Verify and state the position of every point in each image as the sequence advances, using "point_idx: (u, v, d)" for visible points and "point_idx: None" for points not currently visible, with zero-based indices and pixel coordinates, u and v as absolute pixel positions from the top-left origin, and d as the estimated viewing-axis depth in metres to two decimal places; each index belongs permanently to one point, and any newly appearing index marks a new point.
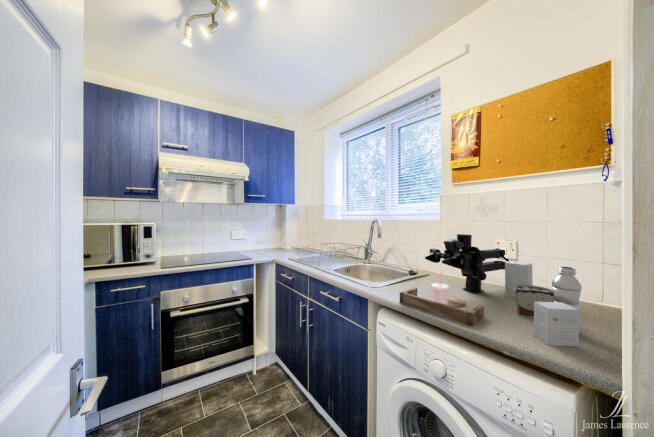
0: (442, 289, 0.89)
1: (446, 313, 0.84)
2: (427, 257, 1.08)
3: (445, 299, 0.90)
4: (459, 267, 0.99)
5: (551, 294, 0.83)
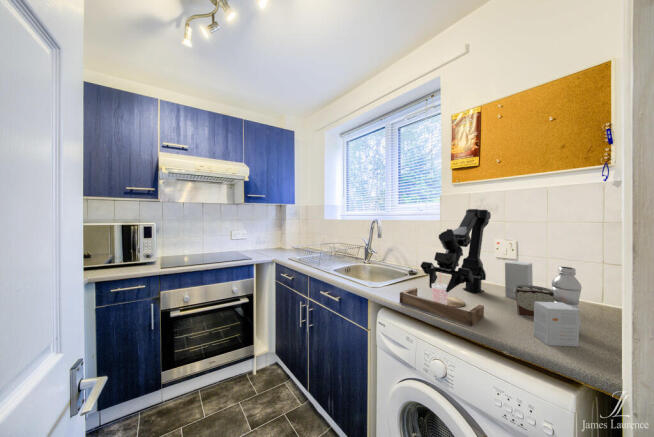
0: (442, 289, 0.89)
1: (446, 313, 0.84)
2: (431, 285, 0.94)
3: (445, 299, 0.90)
4: (462, 282, 0.91)
5: (551, 294, 0.83)
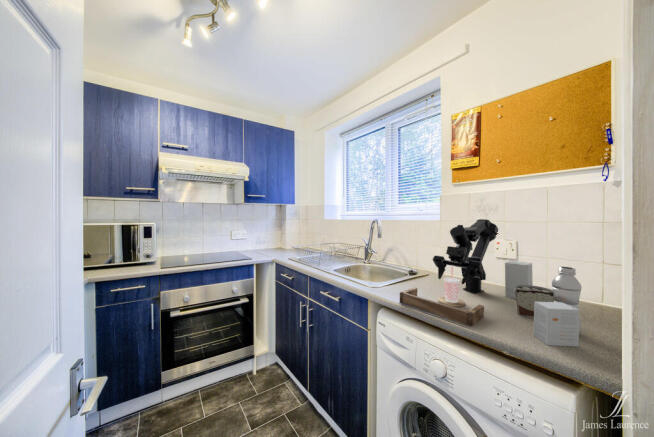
0: (454, 283, 0.96)
1: (446, 313, 0.84)
2: (440, 276, 1.02)
3: (457, 292, 0.97)
4: (476, 275, 0.96)
5: (551, 294, 0.83)
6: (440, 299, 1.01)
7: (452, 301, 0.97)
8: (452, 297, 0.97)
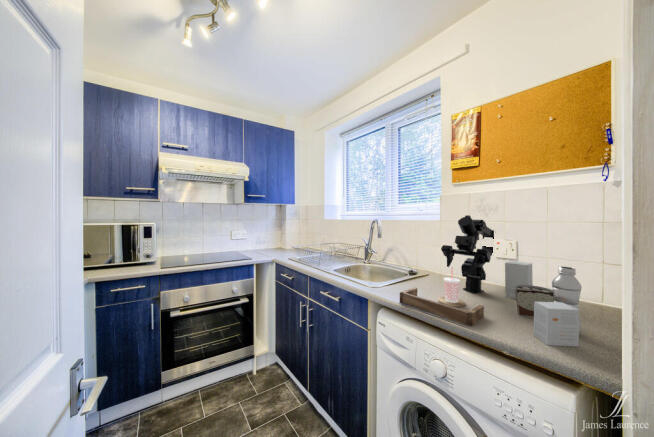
0: (454, 283, 0.96)
1: (446, 313, 0.84)
2: (448, 264, 1.06)
3: (457, 292, 0.97)
4: (483, 262, 1.01)
5: (551, 294, 0.83)
6: (440, 299, 1.01)
7: (452, 301, 0.97)
8: (452, 297, 0.97)
